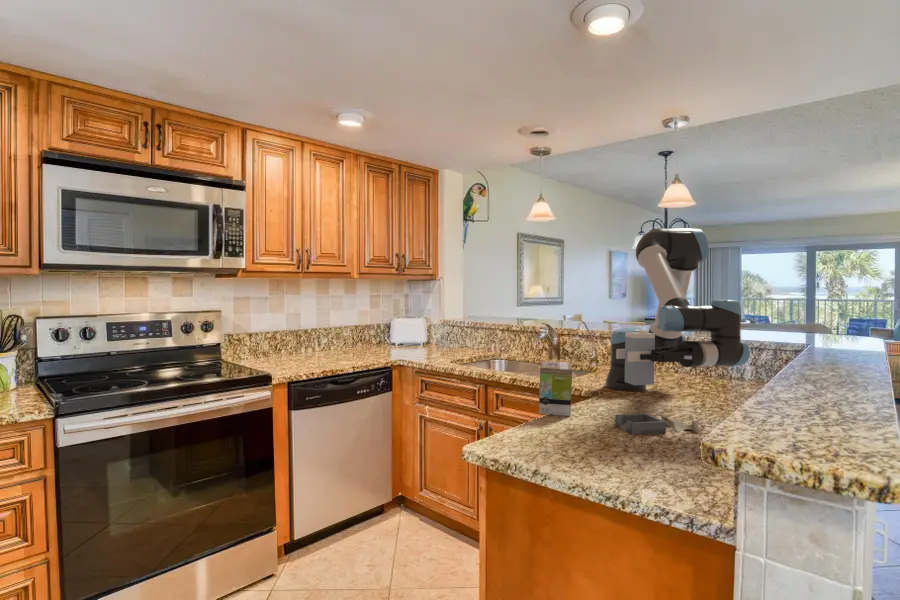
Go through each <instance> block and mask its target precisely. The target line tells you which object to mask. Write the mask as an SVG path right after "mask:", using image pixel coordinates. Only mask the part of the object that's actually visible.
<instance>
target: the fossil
mask: <svg viewBox="0 0 900 600" xmlns="http://www.w3.org/2000/svg"><path fill="white" fill-rule="evenodd" d="M658 417H660V418H661V420H663V421H665V422H666V427H669V428H670V429H671V428H672V431H673V432H674V431H675V432H676V433H682V432H681V431H683V432H684V431H685V430H691V431H693V432H694V433H697V434H699V433H700V426H699V424H698V422H697V421H696V420H692V421H691V424H690V423H688V422H684V421H680V420H673V419H671V418H670V417H667V416H666V415H664V414H661V413H660V414H658Z"/></svg>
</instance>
